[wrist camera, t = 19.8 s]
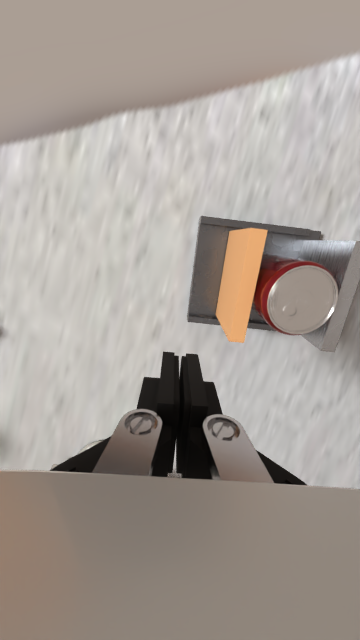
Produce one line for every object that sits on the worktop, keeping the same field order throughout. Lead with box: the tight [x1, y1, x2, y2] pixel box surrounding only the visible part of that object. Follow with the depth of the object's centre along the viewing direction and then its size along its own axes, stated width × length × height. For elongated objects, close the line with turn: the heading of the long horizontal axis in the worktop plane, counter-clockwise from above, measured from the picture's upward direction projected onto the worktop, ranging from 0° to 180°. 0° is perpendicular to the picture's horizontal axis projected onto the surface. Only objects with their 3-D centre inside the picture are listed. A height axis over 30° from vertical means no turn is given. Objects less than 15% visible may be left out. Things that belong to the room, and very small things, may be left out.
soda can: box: [251, 254, 338, 335], centre depth 28 cm, size 7×7×12 cm
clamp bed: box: [187, 216, 360, 352], centre depth 30 cm, size 16×14×12 cm
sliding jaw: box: [216, 228, 268, 343], centre depth 29 cm, size 2×11×10 cm, turn 173°
